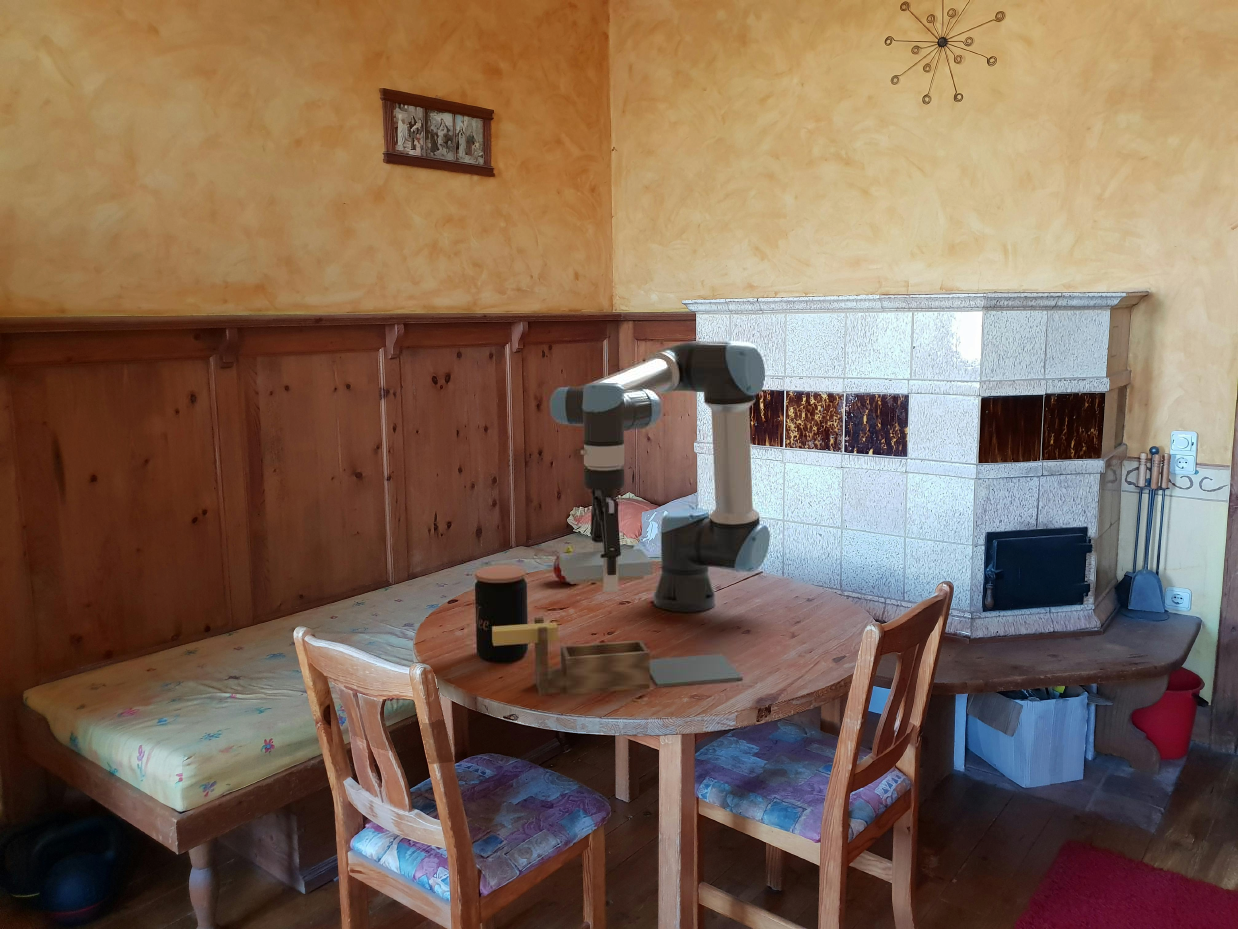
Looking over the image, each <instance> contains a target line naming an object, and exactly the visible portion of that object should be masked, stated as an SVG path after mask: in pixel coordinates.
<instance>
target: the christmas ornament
mask: <svg viewBox="0 0 1238 929" xmlns="http://www.w3.org/2000/svg"><path fill="white" fill-rule="evenodd" d="M563 553H576V551H573V549H572V546H568V547H567V548H566V551H564V552H563ZM552 568H553V573H554V575H555V577H556V579H557V580H558V581H560V582H562V583H563V584H567V585H572V584H571V583H570V582H569V580H566V578H565V576H564V574H563V572H562V570H561V569H560V567H559V555H558V556H557V557H556V558H555V560H554V562H553V567H552Z"/></svg>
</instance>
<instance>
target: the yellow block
mask: <svg viewBox="0 0 1238 929" xmlns="http://www.w3.org/2000/svg"><path fill="white" fill-rule="evenodd" d="M538 627H547V633H548V642H549V643H551V642H553V643H554V642H559V627H558V625H557V621H556V622H544V623H538V624H534V623H528V624H523V625H508V626H493V627H492V641H493V646H498V645H512V644H526V643H528V644H535V643H538Z"/></svg>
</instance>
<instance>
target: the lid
mask: <svg viewBox="0 0 1238 929" xmlns="http://www.w3.org/2000/svg"><path fill="white" fill-rule="evenodd" d="M620 551H621V555H620V556H618V582H620V581H621V582H622V581H624V582H625V581H638V580H645V579H644V578H645V577H644V576H653V561H652V559H650V557H649V556H648V555H647V554H646V552H644V551H643V550H642V549H641V548H632V549H630V548H628V549H620ZM575 552H576V551H575ZM601 554H604V551H593V550H592V551H584V552H583V551H579V552H576V553H564V552H562V553H558V556H559V567H560V569H561V570H562V572H563V574H564V576H565V578H566V580H569V582H570V583H571V584H570V585H574V584H577V585H578V584H592V583H594V584H595V583H603V558H601V557H600V556H601Z"/></svg>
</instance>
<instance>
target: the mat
mask: <svg viewBox="0 0 1238 929" xmlns="http://www.w3.org/2000/svg"><path fill="white" fill-rule="evenodd" d="M650 679H652V681H653V682H654V684H655V686H656V687H657V688H662V687H665V688H666V687H674V686H686V685H687V686H688V685H698V684H700V685H701V684H711V683H723V682H734V681H737V682H738V681H743V679H744V678H743V676H742V675H741V673H740V672H739V671H737V669H736V668H735V667H734V666H733V664H731V662H729V660H728V659H727V658H726V657H725V656H724V654H722V653H717V654H716V653H715V654H705V655H704V654H703V655H693V656H691V655H690V656H678V657H667V658H664V657H663V658H653V659H651V658H650Z"/></svg>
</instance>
